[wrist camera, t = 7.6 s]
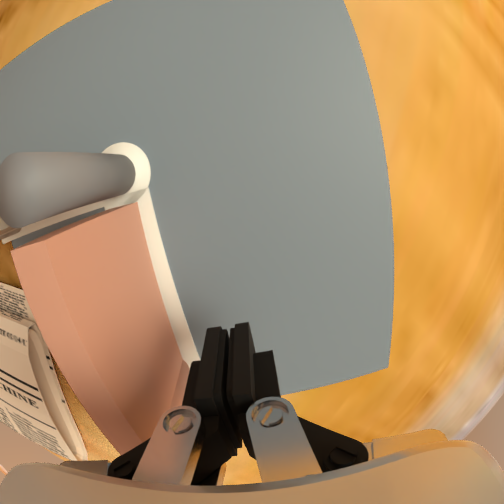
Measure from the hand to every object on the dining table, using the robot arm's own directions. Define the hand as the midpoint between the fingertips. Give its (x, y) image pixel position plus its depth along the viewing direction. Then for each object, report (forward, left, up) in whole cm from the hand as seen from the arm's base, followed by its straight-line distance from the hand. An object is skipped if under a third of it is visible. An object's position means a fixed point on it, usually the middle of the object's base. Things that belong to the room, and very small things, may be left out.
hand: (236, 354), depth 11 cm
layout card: (-6, -3, -4) cm, 8 cm away
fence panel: (-3, -4, -3) cm, 6 cm away
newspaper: (0, -33, -4) cm, 34 cm away
